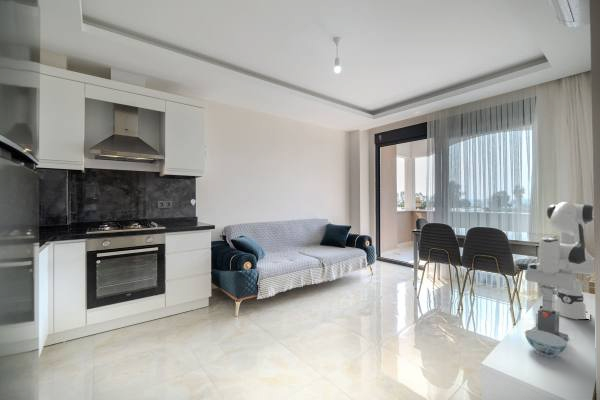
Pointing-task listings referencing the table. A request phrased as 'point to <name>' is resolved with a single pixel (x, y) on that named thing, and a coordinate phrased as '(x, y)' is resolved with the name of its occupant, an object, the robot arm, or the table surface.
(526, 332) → the chinaware
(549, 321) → the stand base
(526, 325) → the table surface
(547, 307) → the column
